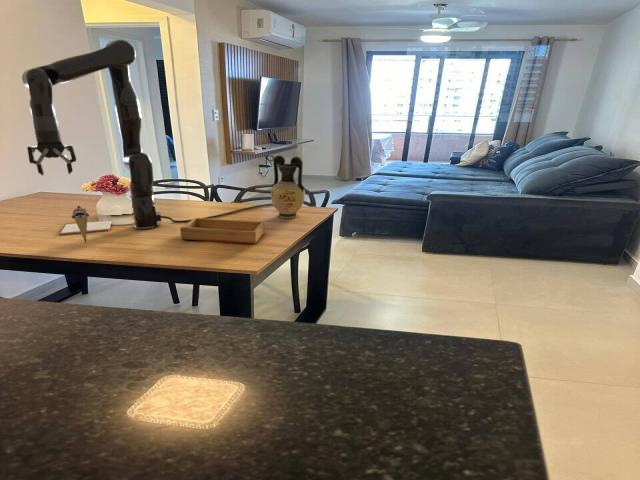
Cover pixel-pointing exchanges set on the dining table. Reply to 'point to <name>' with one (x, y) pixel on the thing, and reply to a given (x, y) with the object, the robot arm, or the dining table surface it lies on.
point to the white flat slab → (91, 227)
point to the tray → (223, 230)
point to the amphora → (287, 187)
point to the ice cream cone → (81, 220)
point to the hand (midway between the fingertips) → (56, 174)
